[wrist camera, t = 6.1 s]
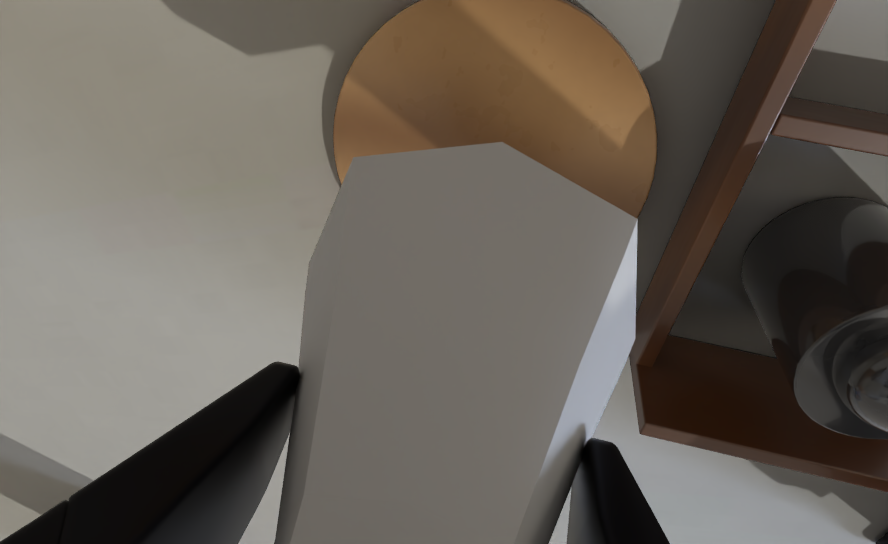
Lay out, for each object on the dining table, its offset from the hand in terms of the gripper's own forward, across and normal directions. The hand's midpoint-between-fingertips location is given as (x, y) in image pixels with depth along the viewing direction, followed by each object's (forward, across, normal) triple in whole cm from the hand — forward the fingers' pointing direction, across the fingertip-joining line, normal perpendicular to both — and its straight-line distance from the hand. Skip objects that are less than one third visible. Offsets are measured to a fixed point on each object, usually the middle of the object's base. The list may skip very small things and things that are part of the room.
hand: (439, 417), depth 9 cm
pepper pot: (+12, -11, +2) cm, 16 cm away
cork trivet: (+12, +1, 0) cm, 12 cm away
